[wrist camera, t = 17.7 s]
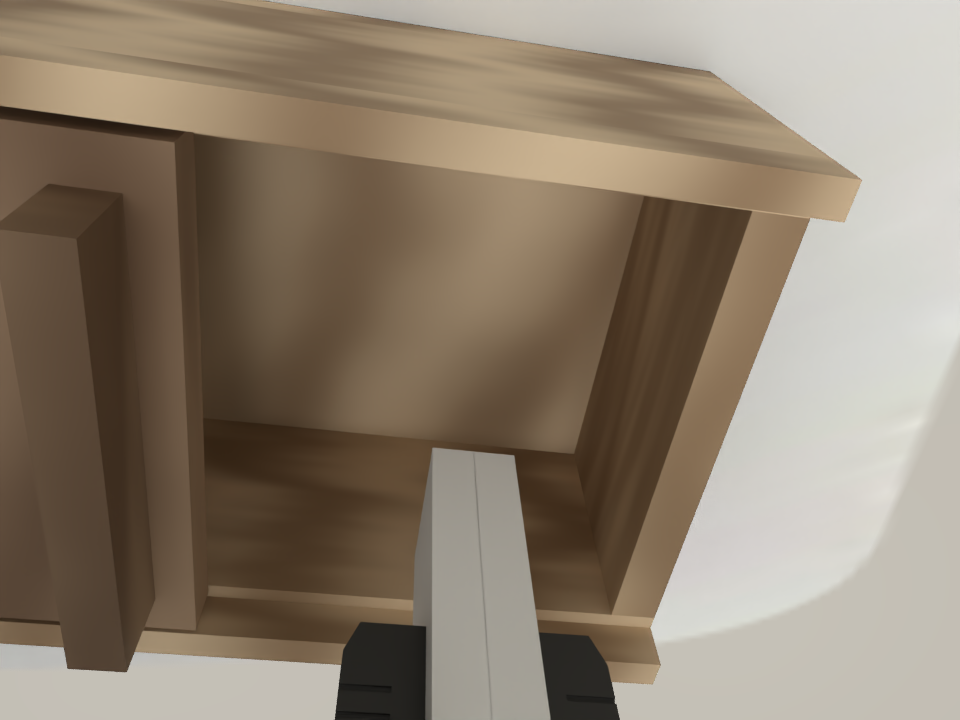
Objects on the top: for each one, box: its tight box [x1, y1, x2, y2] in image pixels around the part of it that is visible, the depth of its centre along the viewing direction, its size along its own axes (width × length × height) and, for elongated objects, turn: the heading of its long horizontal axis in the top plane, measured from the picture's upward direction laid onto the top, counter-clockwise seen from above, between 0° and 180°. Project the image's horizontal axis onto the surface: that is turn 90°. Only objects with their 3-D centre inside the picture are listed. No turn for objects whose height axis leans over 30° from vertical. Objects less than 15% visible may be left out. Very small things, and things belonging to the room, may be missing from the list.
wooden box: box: [0, 0, 862, 684], centre depth 20 cm, size 20×14×9 cm
